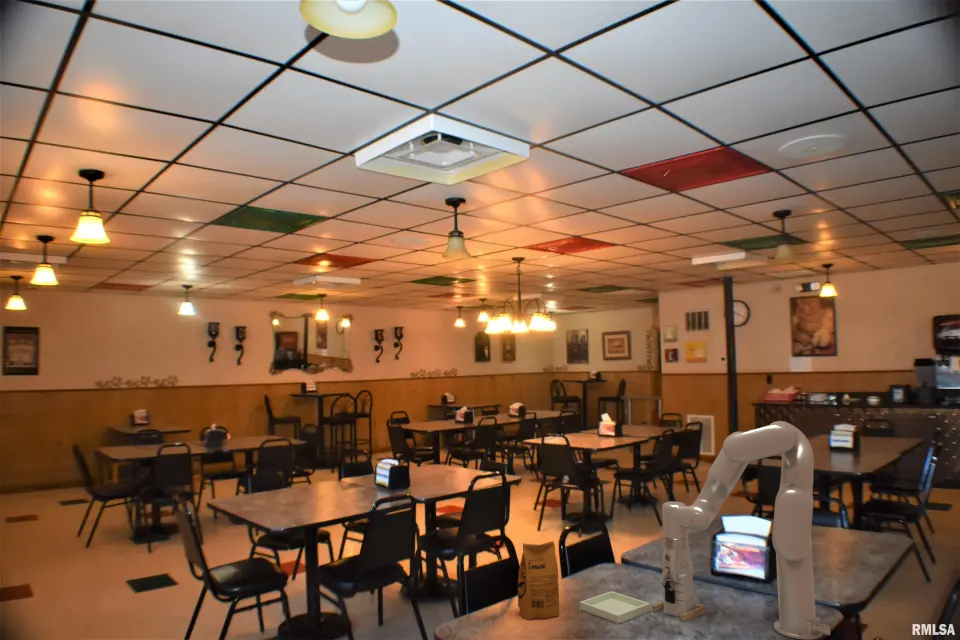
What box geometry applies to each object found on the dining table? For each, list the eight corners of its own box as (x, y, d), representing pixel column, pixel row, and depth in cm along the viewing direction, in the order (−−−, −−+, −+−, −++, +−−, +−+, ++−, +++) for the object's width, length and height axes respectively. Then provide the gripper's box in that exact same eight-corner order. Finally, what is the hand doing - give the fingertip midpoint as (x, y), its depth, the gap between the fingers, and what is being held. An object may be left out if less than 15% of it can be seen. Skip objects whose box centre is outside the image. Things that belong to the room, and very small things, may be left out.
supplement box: (672, 606, 205) (670, 566, 206) (695, 611, 200) (693, 570, 201) (663, 613, 199) (661, 571, 200) (686, 618, 195) (684, 576, 196)
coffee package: (515, 610, 204) (514, 539, 206) (552, 606, 207) (550, 537, 209) (523, 621, 195) (521, 547, 197) (562, 618, 197) (560, 545, 199)
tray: (650, 611, 201) (650, 603, 201) (618, 624, 191) (618, 615, 191) (611, 598, 213) (611, 591, 213) (579, 610, 203) (579, 601, 204)
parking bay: (705, 613, 199) (705, 606, 199) (684, 622, 192) (683, 615, 192) (674, 603, 208) (673, 596, 208) (652, 611, 201) (652, 605, 201)
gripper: (669, 549, 193) (672, 609, 192) (702, 539, 204) (704, 596, 203) (649, 544, 199) (651, 602, 198) (681, 535, 210) (684, 590, 209)
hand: (678, 598), depth 200 cm, fingers closed on supplement box, 8 cm apart
